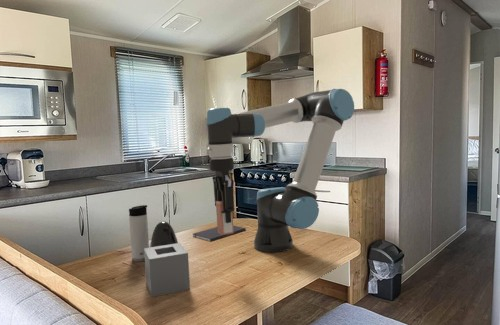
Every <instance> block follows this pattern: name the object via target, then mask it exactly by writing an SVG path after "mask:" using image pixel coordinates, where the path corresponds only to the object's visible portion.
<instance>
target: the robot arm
mask: <svg viewBox="0 0 500 325" xmlns="http://www.w3.org/2000/svg"><path fill="white" fill-rule="evenodd" d="M354 112H355V102H354V99H353V97H352V95H351V93H350V92H349V91H348V90H346V89H344V88H332V89H327V90H321V91H315V92H311V93H310V92H309V93H307V94H305V95H301V96H299V97H295V98H292V99H290V100H288V102H284V103H280V104H274V105H270V106H265V107H261V108H257V109H256V108H255V109H251V110H247V111H242V112H237V113H232V112H231V108H229V107H213V108H208V110H207V111H206V125H207V127H206V129H207V140H208V147H207V152H208V153H209V154H208V156H209V158H210V159H209V170H210V171H211V172H215V173H214V174H215V175H214V176H213V175H212V183H213V193H214V195H213V196H214V205H215V207H216V202H217V201H222V203H223V211H221V213H222V214H223V231H224V233H230V232H232V215H231V212H232V213H233V212H234V210H235V200H234V179H231V176H230V173H229V171H233V170H234V169H235V164H234V158H233V156H234V144H233V139H234V138H251V137H253V138H254V137H260V136H262V135H263V134H264V132H265V130H266V129H267V128H270V127H275V126H278V125H282V124H283V125H284V124H288V123H295V124H296V123H302V122H304V123H305V122H312V124H313V125H312V128H311V131H310V134H309V136H308V138H307V141H306V144H305V147H304V150H303V153H302V156H301V158H300V161H299V163H298V166H297V169H296V172H295V174H294V178H293V180H292V182H290V183H289V184H287V185H286V186H285V187H284V186H281V187H280V186H279V187H270V188H262V189H258V191H257V193H256V208H257V212H256V213H257V229H256V233H255V236H254V241H253V244H254V245H253V247H254V249H255V250H258V251H261V252H266V253H279V252H285V251H288V250H290V249H292V248H293V247H294V244H293V242H294V240H293V237H292V234H291V233H290V229H289V227H290V228H292V229H298V230H304V229H307V228H309V227H312V225H314V224H315V222H316V221H317V219H318V217H319V212H320V209H319V203H318V202H317V198H318V194H317V193H316V189H317V186H318V183H319V181H320V180H319V179H320V176H321V174H322V171H323V170H324V169H323V168H324V166H325V162H326V160H327V156H328V154H329V151H330V149H331V146H332V144H333V140H334V138H335V134H336V132H338V131H340V130H341V129H342V127H343V124H344V122H345V121H348V120H349V119H351V118H352V116H354Z"/></svg>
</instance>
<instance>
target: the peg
mask: <svg viewBox="0 0 500 325" xmlns="http://www.w3.org/2000/svg"><path fill="white" fill-rule="evenodd" d="M215 209H216V227H217V230H218V233H219V234H221V235H226V234H232V233H234V231H233V226H234V216H233V213H234V212H233V211H232V212H231V215H232V232H230V233H224V231H223V214H222V213H221V211H223V203H222V201H217V202H216V206H215ZM232 235H233V234H232Z"/></svg>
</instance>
